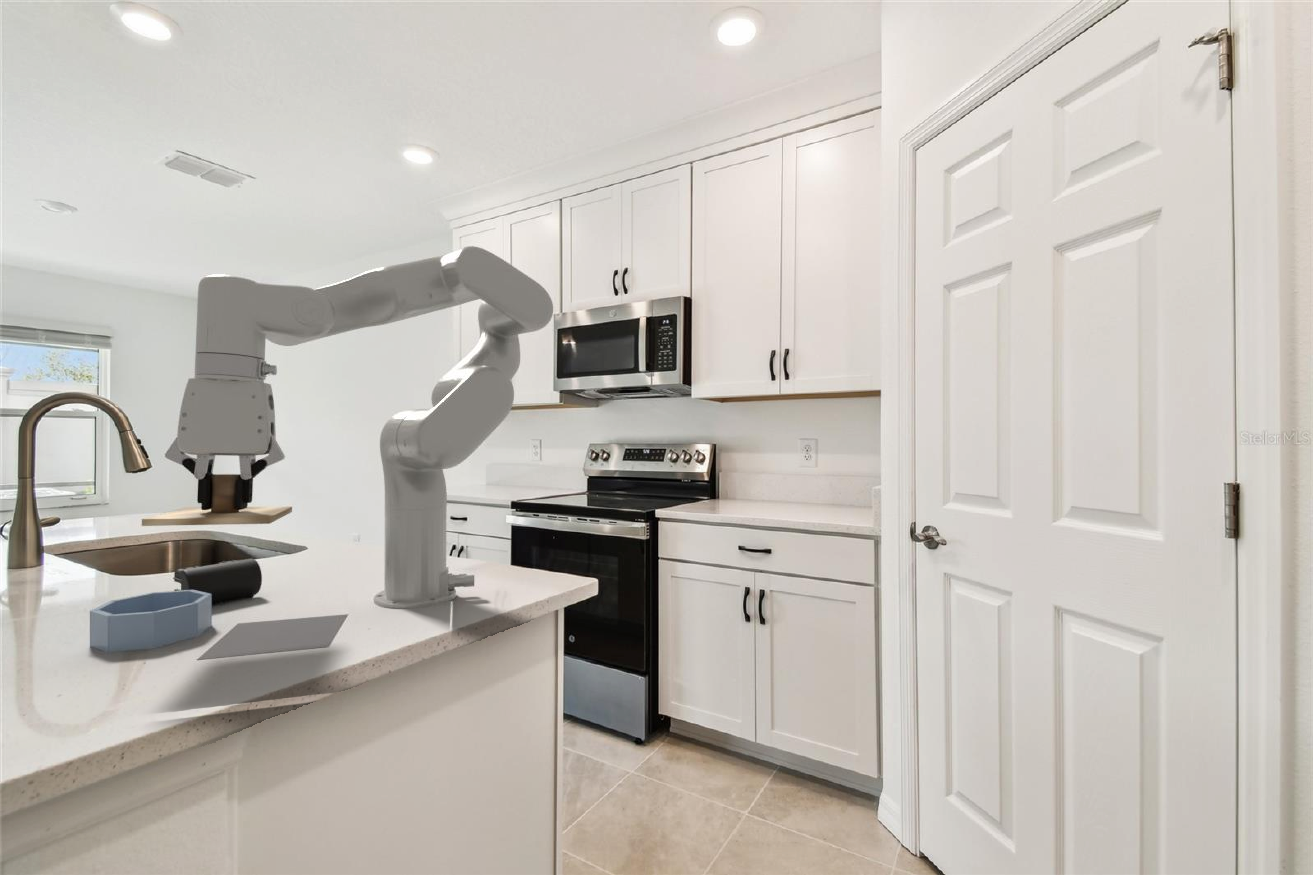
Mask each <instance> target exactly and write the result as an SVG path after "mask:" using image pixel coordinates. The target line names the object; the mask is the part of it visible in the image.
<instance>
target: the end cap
mask: <svg viewBox="0 0 1313 875" xmlns="http://www.w3.org/2000/svg"><path fill="white" fill-rule="evenodd" d="M173 574H174V576H173V578H172V579H173V581H174V582H175V583H179V584H180V589H179V588H174V590H173V591H181V590H197V591H201V592H206V593H210V594H212V606H214V605H219V604H223V603H228V602H233V601H237V600H243V599H253V598H254V597H255V595H257V594H259V591H260V590H261V588H262V583H263V575H262V569H261V567H260V564H259V563H258V561H257V560H256V559H254V558H247V559H240V560H239V559H238V560H237V559H231V560H227V561H225V560H222V561H221V562H218V563H214V564H208V565H203V566H202V565H201V566H195V565H192V566H191V567H182V568H179V569H177V570H175V571H174V573H173Z"/></svg>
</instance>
